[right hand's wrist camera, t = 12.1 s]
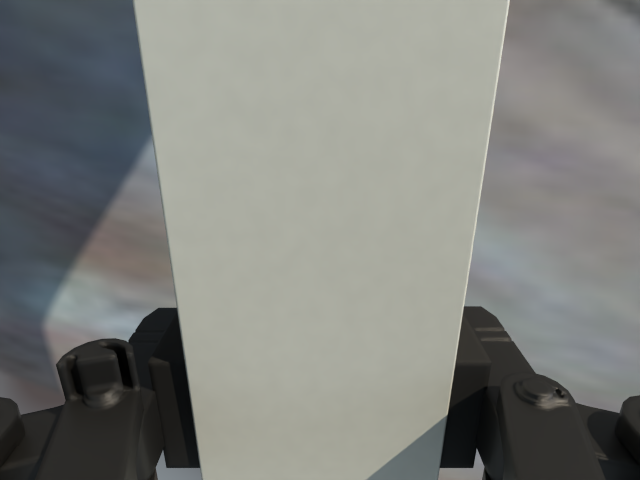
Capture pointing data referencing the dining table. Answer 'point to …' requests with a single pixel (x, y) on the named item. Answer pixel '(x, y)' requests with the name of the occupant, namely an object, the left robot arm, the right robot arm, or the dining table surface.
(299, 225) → the plank
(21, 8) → the dining table surface
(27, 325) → the dining table surface
